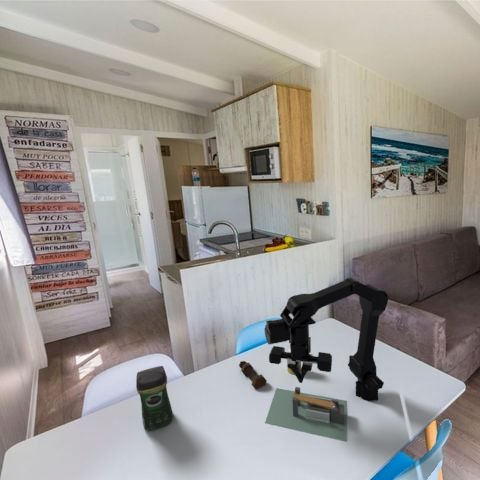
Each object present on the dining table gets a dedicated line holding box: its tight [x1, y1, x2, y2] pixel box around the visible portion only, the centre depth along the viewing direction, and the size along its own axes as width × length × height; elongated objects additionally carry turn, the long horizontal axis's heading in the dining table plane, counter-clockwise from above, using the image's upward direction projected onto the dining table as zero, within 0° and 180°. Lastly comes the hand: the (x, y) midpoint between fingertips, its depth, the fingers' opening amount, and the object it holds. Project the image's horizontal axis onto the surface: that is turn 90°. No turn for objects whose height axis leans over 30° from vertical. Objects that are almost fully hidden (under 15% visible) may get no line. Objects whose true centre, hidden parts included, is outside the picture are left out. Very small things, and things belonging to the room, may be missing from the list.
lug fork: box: [292, 386, 301, 417], centre depth 95 cm, size 2×6×6 cm, turn 160°
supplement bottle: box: [286, 347, 302, 376], centre depth 114 cm, size 5×5×10 cm
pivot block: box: [331, 400, 344, 425], centre depth 90 cm, size 4×4×4 cm
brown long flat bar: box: [292, 393, 337, 409], centre depth 92 cm, size 14×3×1 cm, turn 70°
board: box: [264, 387, 348, 442], centre depth 94 cm, size 24×16×1 cm, turn 70°
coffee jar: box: [135, 365, 174, 432], centre depth 95 cm, size 10×8×19 cm
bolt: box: [238, 360, 267, 390], centre depth 113 cm, size 6×5×15 cm
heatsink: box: [306, 395, 331, 425], centre depth 93 cm, size 7×7×3 cm
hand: (300, 382), depth 92 cm, fingers closed
